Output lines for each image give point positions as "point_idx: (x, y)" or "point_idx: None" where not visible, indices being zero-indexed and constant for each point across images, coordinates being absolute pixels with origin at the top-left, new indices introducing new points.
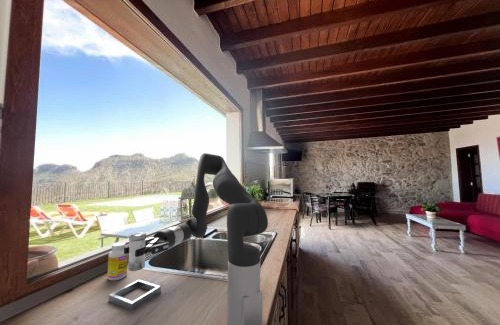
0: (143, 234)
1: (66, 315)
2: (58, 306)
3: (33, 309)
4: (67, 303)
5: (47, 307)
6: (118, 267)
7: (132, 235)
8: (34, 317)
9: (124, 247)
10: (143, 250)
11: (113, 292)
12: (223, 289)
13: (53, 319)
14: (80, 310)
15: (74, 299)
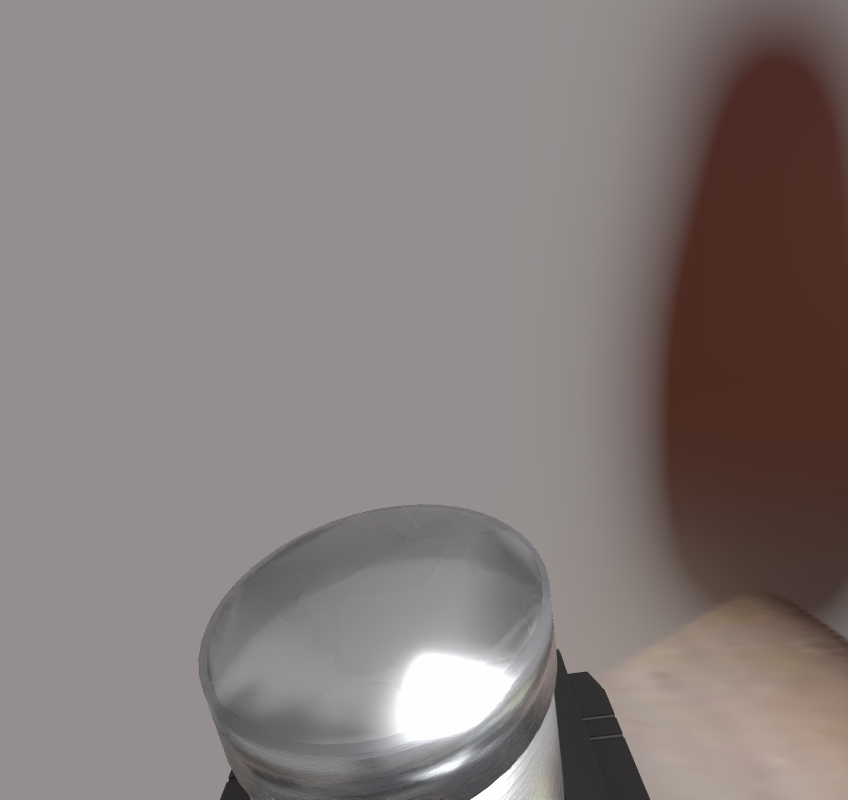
0: (268, 657)
1: (635, 698)
2: (780, 702)
3: (818, 635)
4: (793, 740)
5: (803, 671)
6: None
7: (438, 537)
8: (720, 626)
9: (557, 649)
10: (231, 782)
11: None
12: None
13: (640, 660)
14: (637, 753)
15: (838, 784)
